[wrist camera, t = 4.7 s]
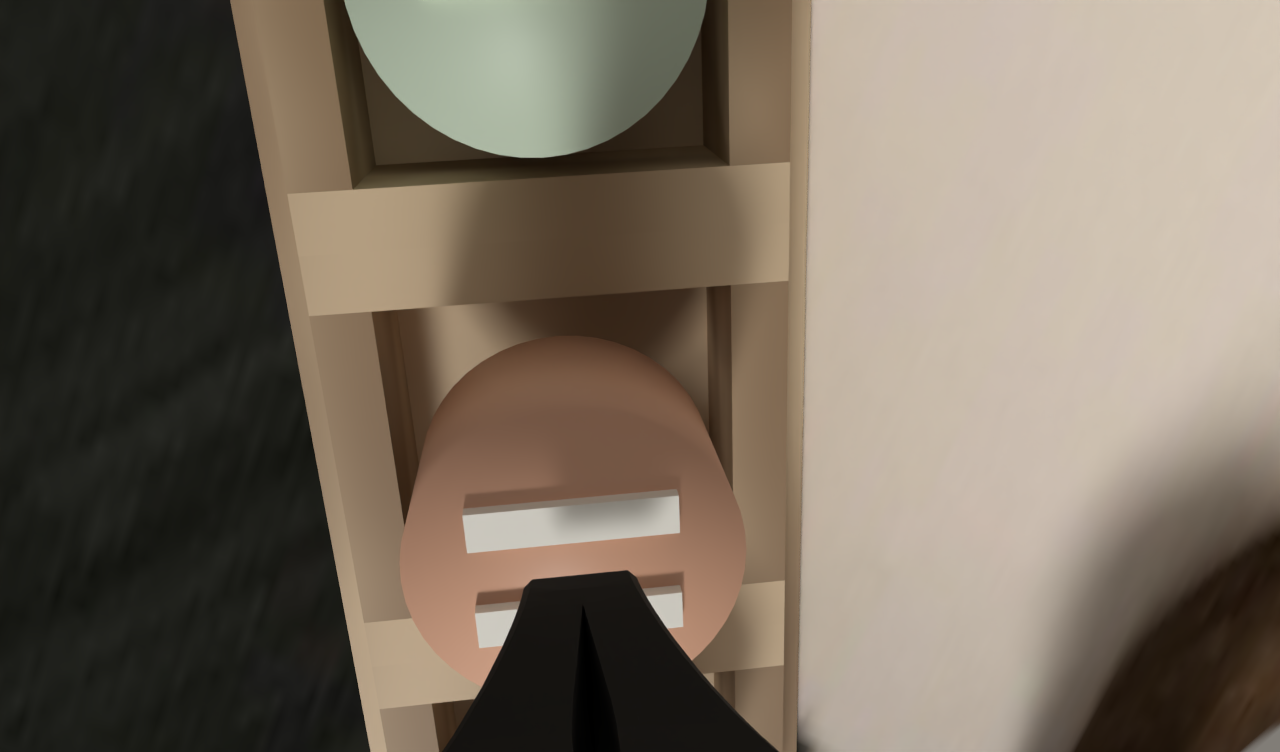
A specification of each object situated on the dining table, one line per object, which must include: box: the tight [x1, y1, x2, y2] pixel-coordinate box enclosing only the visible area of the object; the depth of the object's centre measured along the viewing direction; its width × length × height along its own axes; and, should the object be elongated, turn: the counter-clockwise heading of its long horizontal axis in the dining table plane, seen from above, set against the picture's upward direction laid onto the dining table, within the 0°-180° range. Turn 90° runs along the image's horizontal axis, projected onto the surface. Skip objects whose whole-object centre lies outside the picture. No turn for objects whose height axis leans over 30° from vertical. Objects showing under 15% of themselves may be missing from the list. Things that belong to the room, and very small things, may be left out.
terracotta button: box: [399, 336, 746, 687], centre depth 15 cm, size 5×5×3 cm
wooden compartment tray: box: [230, 0, 811, 752], centre depth 18 cm, size 10×26×3 cm, turn 2°
